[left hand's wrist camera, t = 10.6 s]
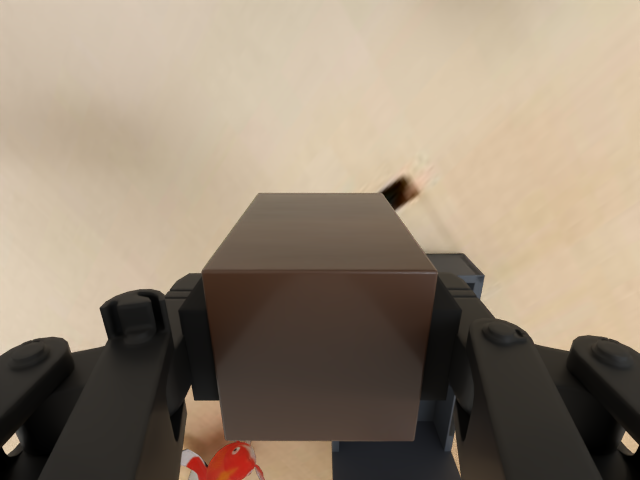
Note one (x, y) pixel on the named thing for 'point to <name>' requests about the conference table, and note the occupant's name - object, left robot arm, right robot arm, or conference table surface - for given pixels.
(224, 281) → the block
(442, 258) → the dark grey open box
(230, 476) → the fish
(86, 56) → the conference table surface
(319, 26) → the conference table surface
